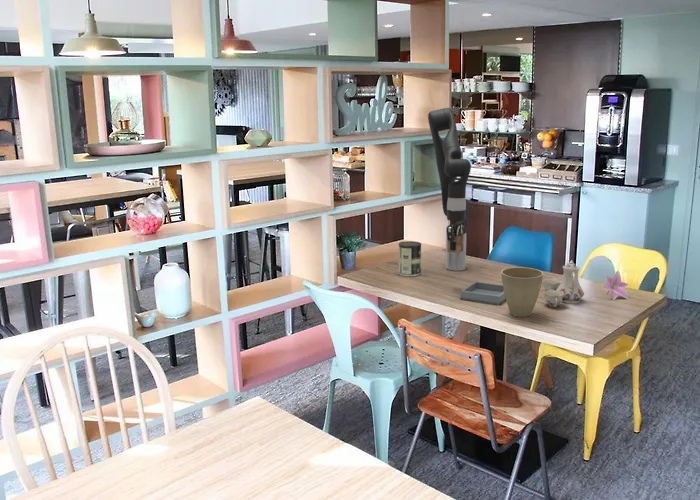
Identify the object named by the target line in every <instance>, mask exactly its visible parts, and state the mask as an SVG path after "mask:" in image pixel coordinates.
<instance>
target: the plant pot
mask: <svg viewBox="0 0 700 500" xmlns="http://www.w3.org/2000/svg"><path fill="white" fill-rule="evenodd" d="M500 273H501V280H502V283H501V284H502V285H503V289H504V293H505V298H506V300H505V301H506V304H507V307H508V310H509V313H510V315H512V316H514V317H520V318H523V317H525V318H526V317H530V316H531V314H532V312H533V310H534V308H535V306H536V304H537V301H538V297H539V294H540V292H541V287H542V279H543V276H544V272H543V271H541V270H540V269H537V268H533V267H532V268H531V267H525V266H524V267H523V266H522V267H521V266H519V267H518V266H517V267H508V268H504V269H502V270H501V272H500Z"/></svg>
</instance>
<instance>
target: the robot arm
mask: <svg viewBox="0 0 700 500" xmlns="http://www.w3.org/2000/svg"><path fill="white" fill-rule="evenodd" d="M427 118H428V120H427V121H428V125H429V129H430V134H431V138H432V142H433V147H434V152H435V161H436V167H437V173H438V177H439V183H440V190H441V204H442V211H443V214H444V215H445V217H446V220H447V221H450V224H449V225H447V226H446V227H445V228H446V229H445V234H446V235H445V270H448V271H454V272H455V271H457V272H458V271H464V270H466V264H467V263H466V261H467V260H466V259H467V257H466V256H467V232H468V231H467V229H468V225H469V214H470V205H469V201H468V200H467V199H466V193H467V192H466V191H467V183H468V181H469V176H470V173H471V170H472V169H471V168H472V164H471V162H470V160H469V159H467V158H463V152H462V149H461V144H460V141H459V137H458V128H457V122H456V117H455V113H454V111H453V109H452V108H451V107H444V108H439V109H434V110H431V111H429V112H428V114H427ZM446 130H448V132H447V134H446V135H445V137H444V138H443V139H442V137H441V136H440V134H439V132H442V131H446ZM458 177H459V179H458V180H457V178H458ZM456 180H457V181H456ZM458 234H464V244H463V251H462V252H460V253H453V252H447V241H450V250H451V251H455V250H456V236H458Z"/></svg>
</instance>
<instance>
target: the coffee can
mask: <svg viewBox="0 0 700 500" xmlns="http://www.w3.org/2000/svg"><path fill="white" fill-rule="evenodd" d="M421 274H422V242H419V241H415V240H414V241H412V240H407V241H406V240H405V241H401V242H400V241H399V243H398V275H400V276H403V277H418V276H419V275H421Z"/></svg>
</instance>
